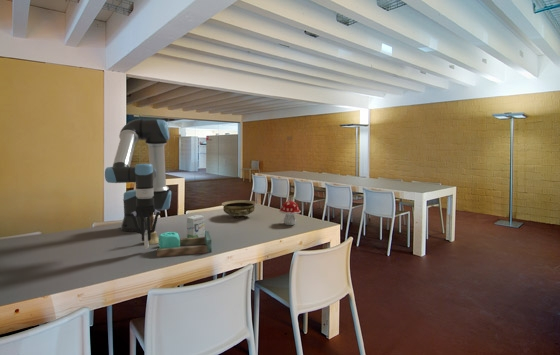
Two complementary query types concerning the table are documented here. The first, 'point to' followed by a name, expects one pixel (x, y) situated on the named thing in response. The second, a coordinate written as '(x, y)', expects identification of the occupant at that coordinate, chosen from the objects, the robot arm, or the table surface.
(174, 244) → the decorative dice
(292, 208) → the decorative mushroom
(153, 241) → the hand bell
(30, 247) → the table surface
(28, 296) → the table surface
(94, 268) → the table surface
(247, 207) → the ceramic bowl
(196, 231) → the ink box
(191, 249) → the channel
